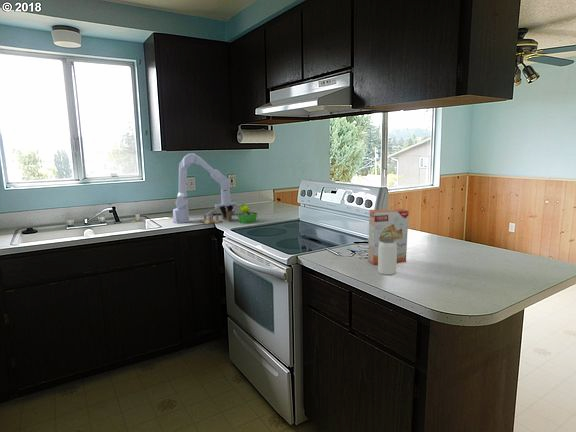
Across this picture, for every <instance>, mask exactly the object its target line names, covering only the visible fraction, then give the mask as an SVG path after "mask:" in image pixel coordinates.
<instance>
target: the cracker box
mask: <svg viewBox="0 0 576 432" xmlns="http://www.w3.org/2000/svg"><path fill="white" fill-rule="evenodd" d="M368 215H369V218H368V219H369V220H368V221H369V222H368V251H367V252H368V253H367V255H368V257H367V259H368V261H369V262H370V263H371V264H373V265H378V246H379V243H380V240H381V239H393V240H396V244H397V263H398V264H399V263H407V253H408V252H407V250H408V249H407V248H408V247H407V246H408V232H409V231H408V230H409V229H408V228H409V210H407V209H404V208H390V209H389V208H388V209H369V214H368Z"/></svg>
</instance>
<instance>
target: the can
mask: <svg viewBox="0 0 576 432" xmlns="http://www.w3.org/2000/svg"><path fill="white" fill-rule="evenodd" d="M377 269H378V270H377V272H378V273H379V274H380V275H384V276H393V275H395V274H396V273H397V244H396V240H393V239H381V240H380V243H379V246H378V264H377Z"/></svg>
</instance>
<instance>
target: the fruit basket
mask: <svg viewBox="0 0 576 432" xmlns="http://www.w3.org/2000/svg"><path fill="white" fill-rule="evenodd" d="M240 212H241V213H239V214H237V218H238V221H239V223H240V224H248V223H253V222H256V221H257V216H258V212H253V211H250V208H249V207H248V205H247V204H245V203H242V204H240Z"/></svg>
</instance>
